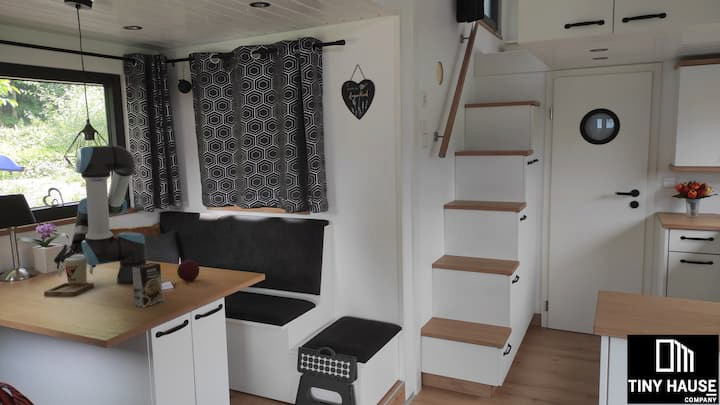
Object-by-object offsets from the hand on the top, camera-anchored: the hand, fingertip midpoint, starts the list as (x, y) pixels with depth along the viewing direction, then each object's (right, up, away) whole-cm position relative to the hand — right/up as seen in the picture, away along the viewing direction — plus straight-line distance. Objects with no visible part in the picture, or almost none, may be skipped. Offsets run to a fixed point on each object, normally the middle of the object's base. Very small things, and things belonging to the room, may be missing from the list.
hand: (75, 274), depth 252 cm
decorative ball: (+53, -4, +2) cm, 53 cm away
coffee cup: (0, -5, +3) cm, 5 cm away
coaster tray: (+4, -6, -12) cm, 14 cm away
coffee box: (+48, -8, -33) cm, 58 cm away
